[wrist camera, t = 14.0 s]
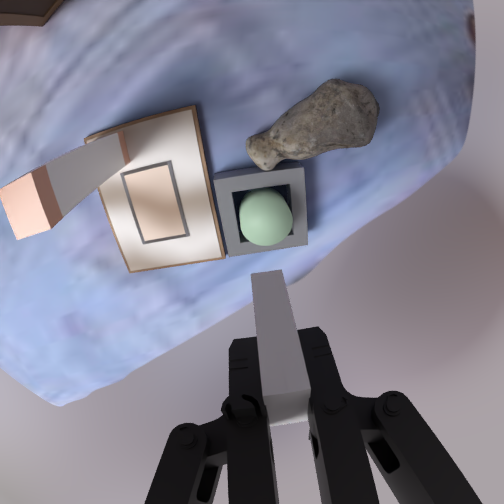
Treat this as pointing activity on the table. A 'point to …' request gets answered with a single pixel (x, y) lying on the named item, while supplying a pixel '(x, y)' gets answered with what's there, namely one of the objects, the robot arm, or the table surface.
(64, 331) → the table surface
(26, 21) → the photo frame
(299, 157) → the stone
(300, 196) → the button housing
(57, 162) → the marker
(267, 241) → the button
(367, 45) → the table surface
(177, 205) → the cream rectangular board
